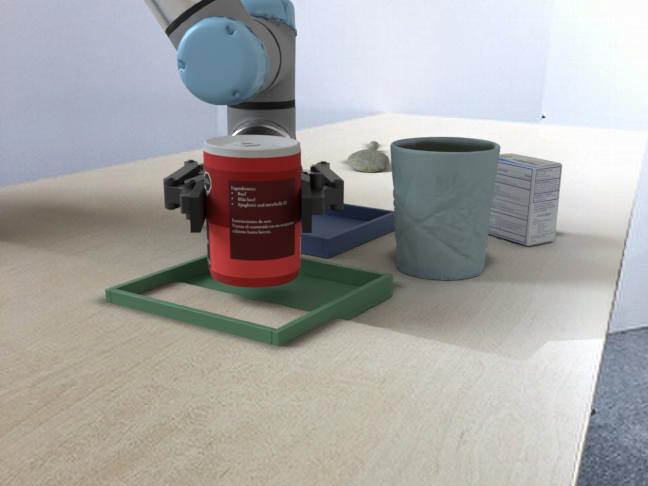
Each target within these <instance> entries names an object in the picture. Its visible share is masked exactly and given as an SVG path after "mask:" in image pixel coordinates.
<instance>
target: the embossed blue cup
mask: <svg viewBox="0 0 648 486" xmlns="http://www.w3.org/2000/svg"><path fill="white" fill-rule="evenodd" d="M389 149H390V164H391V165H390V166H391V176H392V177H391V178H392V179H391V180H392V187H393V189H392V197H393V201H392V205H393V207H394V208H393V211H395V212H394V219H395V224H394V227H395V230H394V237H395V242H396V243H395V262H396V267H397V269H398V270H399V271H400V272H402V273H404V274H406V275H408V276H412V277H416V278H420V279H424V280H433V281H434V280H435V281H437V280H438V281H459V280H465V279H471V278H474V277H478V276H480V275H482V273H483V271H484V269H485V264H486V262H485V261H486V256H487V246H488V243H487V241H488V240H489V234H488V229H489V226H490V224H489V222H490V216H491V211H490V209H491V208H492V199H493V198H494V189H495V183H494V180H495V178H496V174H497V168H498V161H499V155H500V154H501V145H500V144H499V143H497V142H496V141H491V140H488V139H482V138H473V137H464V136H463V137H461V136H421V137H419V136H418V137H410V138H409V137H407V138H402V139H397V140H394V141H391V144H390V145H389Z"/></svg>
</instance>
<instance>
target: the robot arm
mask: <svg viewBox="0 0 648 486" xmlns="http://www.w3.org/2000/svg"><path fill="white" fill-rule="evenodd" d="M143 1H144V3H145V5H146V6H147V8H148V9H149V10H150V12H151V13H152V15H153V17H154V19H155V20H156V21H157V23H158V24H159V26H160V28H161V29H162V30H163V32H164V33H165V35H166V36H167V38H168V39H169V41H170V43H171V44H172V46H173V47H174V49H175V51H176V64H177V70H178V74H179V77H180V80H181V82H182V83H183V85H184V87H185V88H186V89H187V91H188V92H190V93H191V95H193V97H195V98H196V99H199V101H201V102H204V103H206V104H209V105H213V106H226V115H227V116H226V120H227V121H226V122H227V123H226V125H227V136H230V135H269V136H279V137H286V138H291V139H294V140H297V135H296V134H297V130H296V129H297V126H296V125H297V123H296V121H297V119H296V118H297V115H296V114H297V109H296V108H297V107H296V53H297V52H296V48H297V47H296V45H297V43H296V42H297V37H298V30H297V28H296V13H295V9H296V8H295V5H294V3H293V2H292V1H291V0H143ZM183 163H184V164H183V166H182V167H180V168H178V169H177V170H175V171H174V172H172V173H171V174H169V175H167V176H165V178H163V179H162V182H163V198H164V200H163V201H164V209H166V210H169V211H175V210H177V209H180V213H181V214H182V215H185V219H186V220H188V221H189V228H190V229H189V230H190V233H191V234H200V233H201V232H202V230H203V227H204V224H205V223H206V209H205V185H204V165H203V162H198V161H197V160H195V159H187V160H184V161H183ZM344 203H345V180H344V179H343V178H342V177H340V176H339V175H338V174H337V173H336V172H335V171H333V170H332V169H331V163H330V161H329V162H328V161H326V160H321V161H319V162H316V164H315V163H311V164H310V166H309V169H306V168H305V169H304V167H303V166H302V164H301V226H302V233H312V215H323V214H325V206H327V207H328V208H329V209H331V210H334V211H341V210H343V209H344Z"/></svg>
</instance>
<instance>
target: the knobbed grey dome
mask: <svg viewBox="0 0 648 486" xmlns="http://www.w3.org/2000/svg"><path fill="white" fill-rule="evenodd" d="M379 148H380V144H379V142H378V141H377V140H371V141H370V142H369V143H368V147H367V149H361V150H360V149H359V150H357V151H355V152H352V153H351V154H350V155H348V157H347V165H348V166H349V167H351V168H352V169H354V170H356V171H359V172H362V173H376V172H380V171H383V170H385V169H386V168H387V167H388V166H389V164H390V157H388V155H386V154H385V153H384V152H382V151H380V150H378V149H379Z"/></svg>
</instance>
